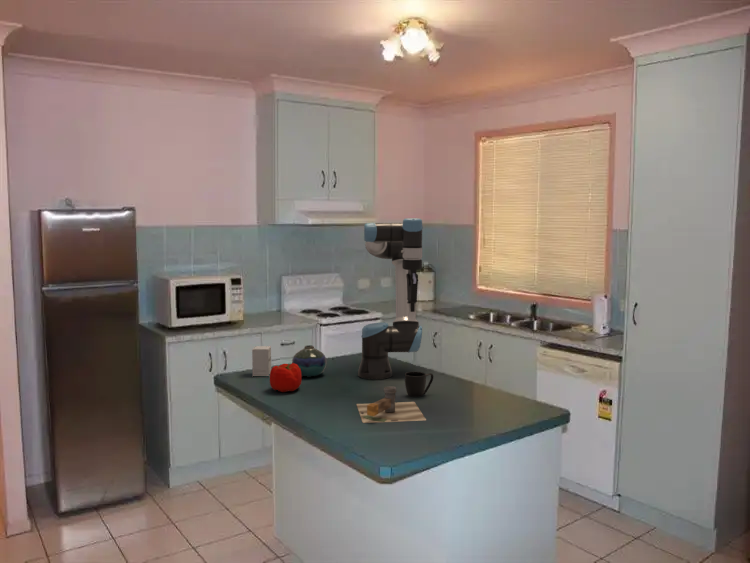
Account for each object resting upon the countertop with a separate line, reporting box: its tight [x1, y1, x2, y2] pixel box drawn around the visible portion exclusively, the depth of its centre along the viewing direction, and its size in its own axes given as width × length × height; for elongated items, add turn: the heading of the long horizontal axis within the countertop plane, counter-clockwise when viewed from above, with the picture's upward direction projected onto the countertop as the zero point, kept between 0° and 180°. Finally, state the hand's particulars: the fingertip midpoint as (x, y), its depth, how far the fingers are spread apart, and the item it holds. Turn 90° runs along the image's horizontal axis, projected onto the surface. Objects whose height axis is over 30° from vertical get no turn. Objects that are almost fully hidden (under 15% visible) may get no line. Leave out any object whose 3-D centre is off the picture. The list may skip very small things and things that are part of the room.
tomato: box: [269, 362, 302, 393], centre depth 262 cm, size 14×13×10 cm
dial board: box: [356, 401, 427, 424], centre depth 230 cm, size 22×22×1 cm
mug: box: [404, 371, 434, 398], centre depth 252 cm, size 8×12×10 cm
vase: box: [291, 344, 328, 378], centre depth 286 cm, size 15×15×13 cm
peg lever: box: [367, 385, 397, 416], centre depth 224 cm, size 15×4×8 cm, turn 148°
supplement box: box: [251, 345, 272, 377], centre depth 286 cm, size 7×7×13 cm
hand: (411, 319), depth 248 cm, fingers closed
